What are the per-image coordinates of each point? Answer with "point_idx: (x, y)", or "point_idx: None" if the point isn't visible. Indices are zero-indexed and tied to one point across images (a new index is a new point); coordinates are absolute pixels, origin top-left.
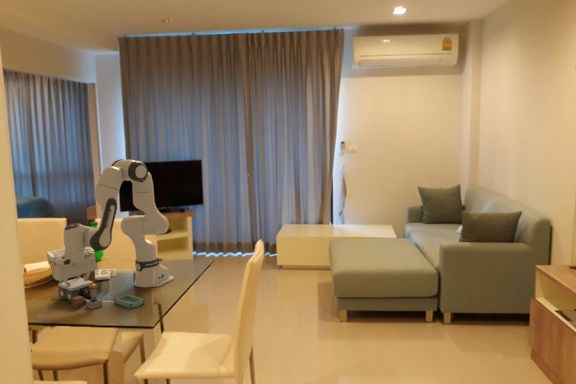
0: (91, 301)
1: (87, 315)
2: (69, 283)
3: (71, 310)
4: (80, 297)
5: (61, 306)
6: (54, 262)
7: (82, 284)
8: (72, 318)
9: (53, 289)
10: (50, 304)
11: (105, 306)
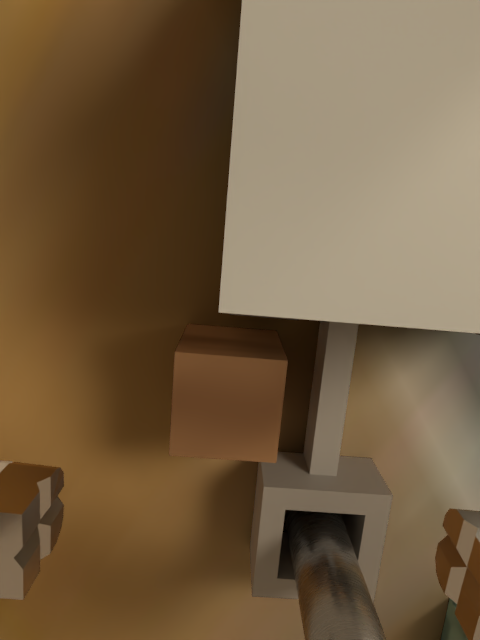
0: (289, 540)
1: (131, 620)
2: (5, 596)
3: (118, 410)
4: (247, 437)
5: (122, 218)
6: None
7: (472, 307)
8: None
9: None
10: (83, 31)
11: None
